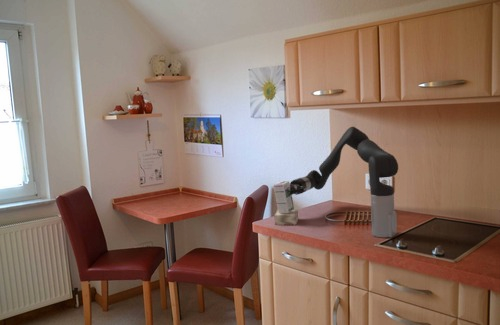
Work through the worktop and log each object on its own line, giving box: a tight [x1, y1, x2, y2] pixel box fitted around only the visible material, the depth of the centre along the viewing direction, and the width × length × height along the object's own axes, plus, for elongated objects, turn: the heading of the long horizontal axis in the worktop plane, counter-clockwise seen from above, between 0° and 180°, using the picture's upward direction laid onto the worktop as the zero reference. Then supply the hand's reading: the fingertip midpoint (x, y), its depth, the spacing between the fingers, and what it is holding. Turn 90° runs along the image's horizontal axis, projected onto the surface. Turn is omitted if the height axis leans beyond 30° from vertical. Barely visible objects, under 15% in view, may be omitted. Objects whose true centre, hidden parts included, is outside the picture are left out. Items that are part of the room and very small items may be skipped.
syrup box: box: [273, 180, 295, 213], centre depth 213 cm, size 6×6×14 cm
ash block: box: [274, 209, 299, 226], centre depth 215 cm, size 10×10×5 cm
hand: (282, 192), depth 211 cm, fingers open, 8 cm apart
